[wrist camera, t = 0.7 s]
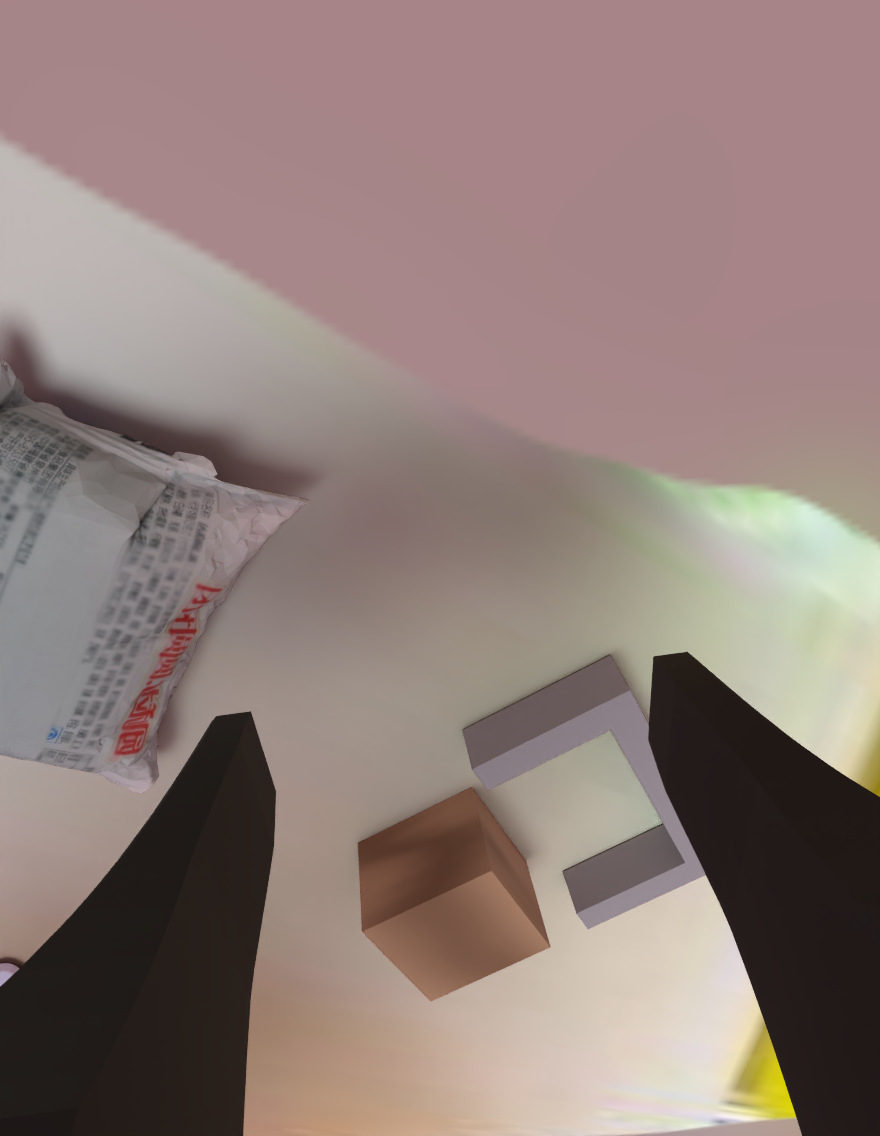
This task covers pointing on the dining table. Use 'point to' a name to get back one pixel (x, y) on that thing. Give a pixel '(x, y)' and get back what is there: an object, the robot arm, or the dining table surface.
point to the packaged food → (107, 583)
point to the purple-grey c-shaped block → (562, 725)
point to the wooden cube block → (449, 896)
